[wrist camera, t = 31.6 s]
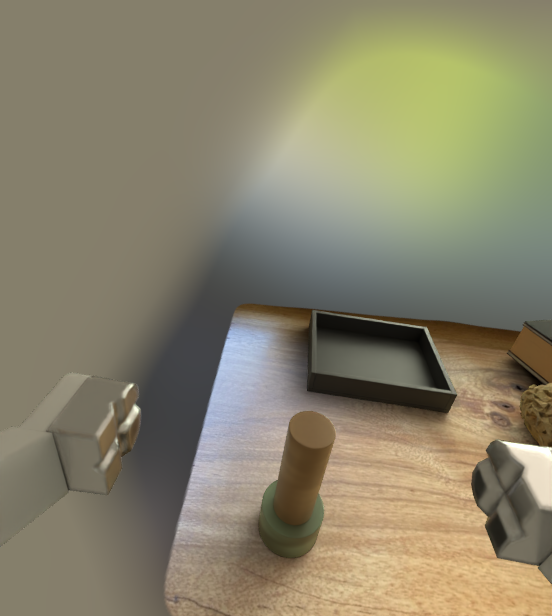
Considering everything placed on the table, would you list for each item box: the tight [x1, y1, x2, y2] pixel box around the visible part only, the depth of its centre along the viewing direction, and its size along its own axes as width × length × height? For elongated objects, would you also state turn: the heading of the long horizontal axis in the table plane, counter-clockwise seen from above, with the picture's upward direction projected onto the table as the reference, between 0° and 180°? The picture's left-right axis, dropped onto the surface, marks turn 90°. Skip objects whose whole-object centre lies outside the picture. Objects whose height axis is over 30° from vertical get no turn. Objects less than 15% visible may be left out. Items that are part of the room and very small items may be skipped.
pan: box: [307, 310, 457, 413], centre depth 51 cm, size 17×14×3 cm
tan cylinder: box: [259, 411, 336, 558], centre depth 28 cm, size 5×5×12 cm
